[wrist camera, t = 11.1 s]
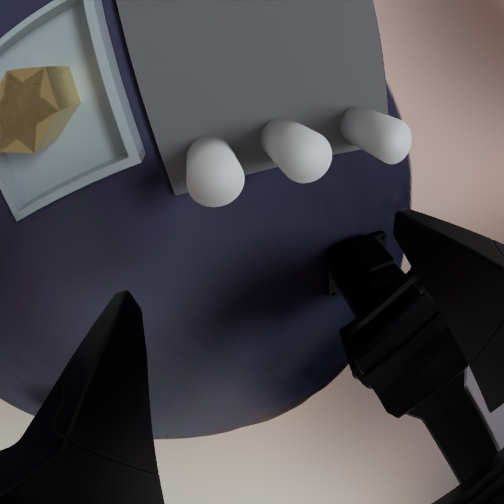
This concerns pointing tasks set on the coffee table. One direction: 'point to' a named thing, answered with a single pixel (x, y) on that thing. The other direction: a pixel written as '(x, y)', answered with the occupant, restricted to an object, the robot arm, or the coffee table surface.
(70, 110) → the tan faceted polyhedron
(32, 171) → the nut tray
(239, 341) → the coffee table surface
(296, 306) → the coffee table surface
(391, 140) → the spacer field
